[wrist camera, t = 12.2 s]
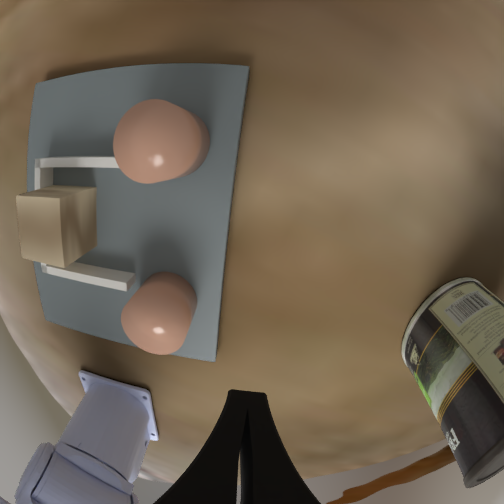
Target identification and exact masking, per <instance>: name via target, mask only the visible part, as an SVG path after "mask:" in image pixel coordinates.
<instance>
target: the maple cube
mask: <svg viewBox="0 0 504 504" xmlns="http://www.w3.org/2000/svg"><path fill="white" fill-rule="evenodd" d="M96 195H97V187H86V186H66V185H52V186H48V187H44V188H41V189H37V190H33V191H30V192H27V193H23V194H20V195H17V196H16V205H17V220H18V231H19V240H20V248H21V255H22V258H25V259H28V260H32V261H36V262H41V263H45V264H49V265H53V266H57V267H62V268H66V267H67V266H68V265H70V264H71V263H73V262H74V261H76V260H77V259H78V258H80V257H81V256H83V255H84V254H86V253H87V252H89V251H90V250H92V249H93V248H95V247H96V246H97V219H96Z"/></svg>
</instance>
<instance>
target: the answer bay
mask: <svg viewBox="0 0 504 504" xmlns="http://www.w3.org/2000/svg"><path fill="white" fill-rule="evenodd" d="M53 167H99V168H119V166H118V164H117V162H116V160H115V156H67V157H46V158H39V159H35V190H37V189H41V188H44V187H48V186H52V185H53ZM41 268H42V272H43V273H47V274H51V275H55V276H59V277H63V278H68V279H72V280H76V281H80V282H85V283H89V284H94V285H98V286H103V287H108V288H112V289H117V290H122V291H128V290H129V289H130V287H131V286H132V285H133V284H134V283H135V282H136V276H135V273H130V272H125V271H119V270H114V269H108V268H103V267H97V266H92V265H87V264H82V263H77V262H73V263H71V264H70V265H68V266H67V267H66V268H62V267H57V266H53V265H49V264H45V263H41Z"/></svg>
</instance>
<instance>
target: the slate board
mask: <svg viewBox="0 0 504 504" xmlns="http://www.w3.org/2000/svg"><path fill="white" fill-rule="evenodd" d="M249 72H250V70H249V66H241V65H228V64H207V63H169V64H148V65H135V66H125V67H116V68H109V69H102V70H95V71H89V72H84V73H78V74H73V75H69V76H64V77H60V78H55V79H51V80H47V81H44V82H40V83H36V86H35V91H34V97H33V104H32V111H31V119H30V128H29V139H28V156H27V192H30V191H33V190H35V159H39V158H46V157H67V156H114V151H113V139H114V134H115V130H116V128H117V125H118V123H119V121H120V120H121V118H122V117H123V115H124V114H125V113H126V112H127V111H128V110H129V109H130V108H131V107H133V106H134V105H136V104H138V103H140V102H142V101H145V100H150V99H161V100H165V101H168V102H170V103H172V104H174V105H177V106H179V107H181V108H183V109H186V110H188V111H190V112H192V113H194V114H196V115H197V116H199V117H200V118H201V119H202V121H203V122H204V123H205V125H206V127H207V129H208V132H209V137H210V146H209V151H208V154H207V157H206V159H205V160H204V162H203V163H202V165H201V166H200V167H199V168H198V169H197V170H196V171H194V172H193V173H191V174H189V175H187V176H184V177H180V178H175V179H170V180H165V181H161V182H156V183H149V184H146V183H139V182H136V181H134V180H132V179H130V178H129V177H127V176H126V175H125V174H124V173H123V172H122V171H121V169H120V168H99V167H53V185H66V186H86V187H97V195H96V219H97V246H96V247H95V248H93V249H92V250H90V251H89V252H87V253H86V254H84V255H83V256H81V257H80V258H78V259H77V260H76V261H74V262H77V263H82V264H87V265H92V266H97V267H103V268H108V269H114V270H119V271H125V272H130V273H135V276H136V282H135V283H134V284H133V285H132V286H131V287H130V289H129V290H128V291H122V290H117V289H112V288H108V287H103V286H98V285H94V284H89V283H85V282H80V281H76V280H72V279H68V278H63V277H59V276H55V275H51V274H47V273H43V272H42V268H41V262H36V261H33V262H34V268H35V274H36V279H37V285H38V290H39V294H40V299H41V303H42V307H43V311H44V315H45V319H46V320H47V321H50V322H53V323H55V324H58V325H61V326H64V327H67V328H70V329H74V330H77V331H80V332H83V333H86V334H90V335H93V336H97V337H100V338H104V339H107V340H111V341H115V342H119V343H123V344H127V345H131V346H135V347H138V346H136V345H135V344H134V343H133V342H132V341H131V340H130V339H129V338H128V336H127V335H126V333H125V332H124V329H123V327H122V323H121V313H122V310H123V308H124V306H125V305H126V304H127V302H128V301H129V300H130V299H131V297H132V296H133V295H134V294H135V292H136V291H137V290H138V289H139V287H140V286H141V285H142V284H143V283H144V281H145V280H146V279H147V278H148V277H149V276H151V275H152V274H154V273H157V272H171V273H175V274H177V275H179V276H181V277H183V278H184V279H185V280H187V281H188V282H189V283H190V285H191V286H192V287H193V289H194V291H195V293H196V296H197V309H196V312H195V314H194V317H193V319H192V322H191V325H190V327H189V330H188V332H187V335H186V338H185V340H184V343H183V345H182V346H181V347H180V348H179V349H178V350H177V351H175V352H173V353H170V354H171V355H177V356H182V357H187V358H193V359H199V360H205V361H211V362H215V360H216V355H217V346H218V334H219V322H220V311H221V301H222V290H223V280H224V270H225V260H226V251H227V241H228V232H229V223H230V215H231V206H232V197H233V189H234V181H235V173H236V165H237V157H238V149H239V142H240V134H241V127H242V120H243V113H244V106H245V99H246V92H247V85H248V78H249Z"/></svg>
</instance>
